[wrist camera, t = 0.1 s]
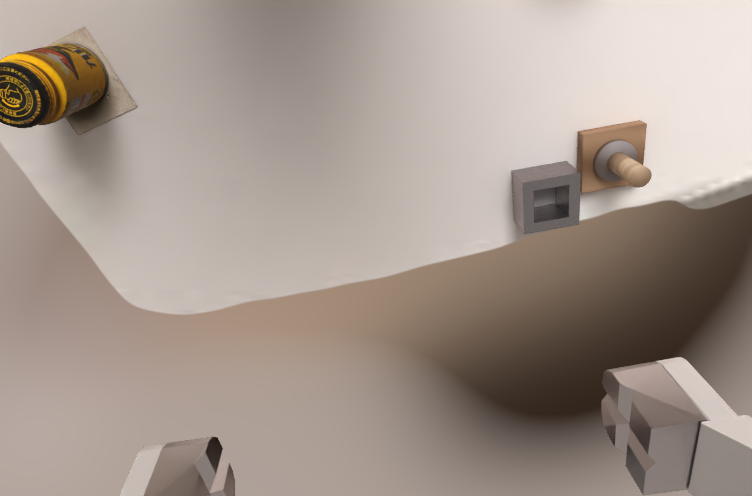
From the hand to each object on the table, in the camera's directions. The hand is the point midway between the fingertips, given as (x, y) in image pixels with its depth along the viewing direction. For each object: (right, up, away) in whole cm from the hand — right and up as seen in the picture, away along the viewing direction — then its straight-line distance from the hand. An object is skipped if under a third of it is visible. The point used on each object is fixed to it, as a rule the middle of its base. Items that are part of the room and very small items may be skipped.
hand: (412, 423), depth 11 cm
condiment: (-31, +21, +42) cm, 56 cm away
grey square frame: (+19, +10, +50) cm, 54 cm away
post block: (+26, +14, +48) cm, 57 cm away
